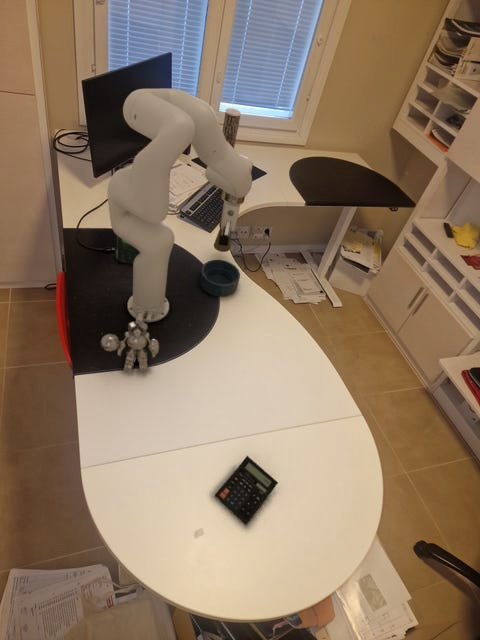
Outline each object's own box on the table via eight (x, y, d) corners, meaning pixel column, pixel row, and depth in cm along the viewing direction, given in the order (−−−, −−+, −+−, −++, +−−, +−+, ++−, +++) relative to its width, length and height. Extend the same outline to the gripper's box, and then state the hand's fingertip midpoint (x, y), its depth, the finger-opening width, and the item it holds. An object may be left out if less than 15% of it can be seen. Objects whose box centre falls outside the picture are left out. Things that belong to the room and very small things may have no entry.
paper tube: (214, 161, 200) (223, 108, 182) (227, 161, 203) (237, 108, 185) (219, 168, 196) (229, 114, 178) (232, 168, 199) (243, 115, 181)
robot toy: (100, 372, 109) (97, 336, 98) (103, 353, 113) (101, 317, 102) (157, 373, 112) (160, 339, 101) (158, 355, 116) (161, 320, 105)
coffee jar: (146, 252, 145) (148, 206, 132) (143, 266, 140) (145, 221, 126) (118, 248, 143) (117, 202, 130) (114, 263, 138) (112, 216, 125)
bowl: (236, 300, 138) (239, 288, 134) (197, 294, 136) (199, 282, 132) (237, 275, 147) (240, 263, 143) (201, 268, 145) (203, 256, 141)
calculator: (214, 495, 93) (216, 490, 91) (245, 459, 101) (248, 454, 99) (246, 525, 91) (249, 520, 88) (275, 486, 98) (279, 481, 96)
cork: (221, 239, 151) (226, 214, 144) (233, 248, 150) (239, 222, 142) (210, 245, 148) (215, 219, 140) (222, 254, 146) (228, 228, 138)
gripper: (244, 211, 129) (232, 257, 141) (245, 185, 140) (234, 229, 153) (220, 206, 128) (211, 252, 140) (223, 180, 139) (214, 225, 152)
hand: (223, 240), depth 147 cm, fingers closed on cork, 4 cm apart
